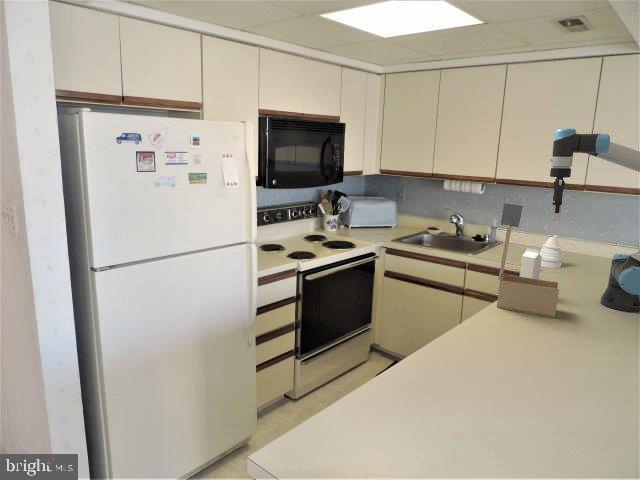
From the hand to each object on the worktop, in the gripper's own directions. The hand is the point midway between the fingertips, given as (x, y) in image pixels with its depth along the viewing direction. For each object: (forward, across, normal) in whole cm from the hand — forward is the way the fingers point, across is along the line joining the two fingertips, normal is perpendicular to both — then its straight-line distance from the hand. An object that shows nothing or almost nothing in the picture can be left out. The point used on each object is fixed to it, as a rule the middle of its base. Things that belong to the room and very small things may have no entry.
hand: (555, 218), depth 189 cm
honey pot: (+38, -78, +3) cm, 87 cm away
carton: (+37, +11, -8) cm, 40 cm away
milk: (+38, -8, -8) cm, 39 cm away
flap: (+10, +10, -14) cm, 20 cm away
